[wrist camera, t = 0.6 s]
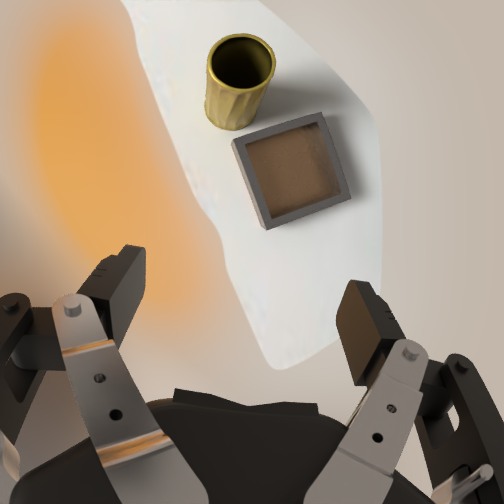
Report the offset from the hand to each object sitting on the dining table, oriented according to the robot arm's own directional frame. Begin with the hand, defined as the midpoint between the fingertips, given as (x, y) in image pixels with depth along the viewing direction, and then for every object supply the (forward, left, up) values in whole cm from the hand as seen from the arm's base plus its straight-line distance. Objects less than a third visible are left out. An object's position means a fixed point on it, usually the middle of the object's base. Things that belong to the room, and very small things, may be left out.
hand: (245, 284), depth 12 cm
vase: (-12, +5, -26) cm, 29 cm away
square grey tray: (-3, +9, -26) cm, 27 cm away
